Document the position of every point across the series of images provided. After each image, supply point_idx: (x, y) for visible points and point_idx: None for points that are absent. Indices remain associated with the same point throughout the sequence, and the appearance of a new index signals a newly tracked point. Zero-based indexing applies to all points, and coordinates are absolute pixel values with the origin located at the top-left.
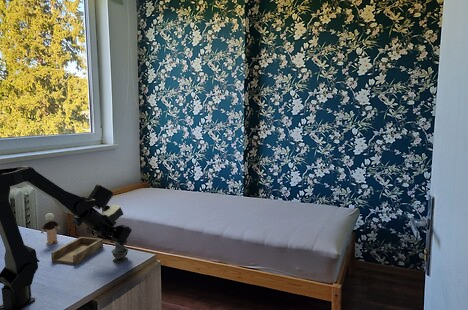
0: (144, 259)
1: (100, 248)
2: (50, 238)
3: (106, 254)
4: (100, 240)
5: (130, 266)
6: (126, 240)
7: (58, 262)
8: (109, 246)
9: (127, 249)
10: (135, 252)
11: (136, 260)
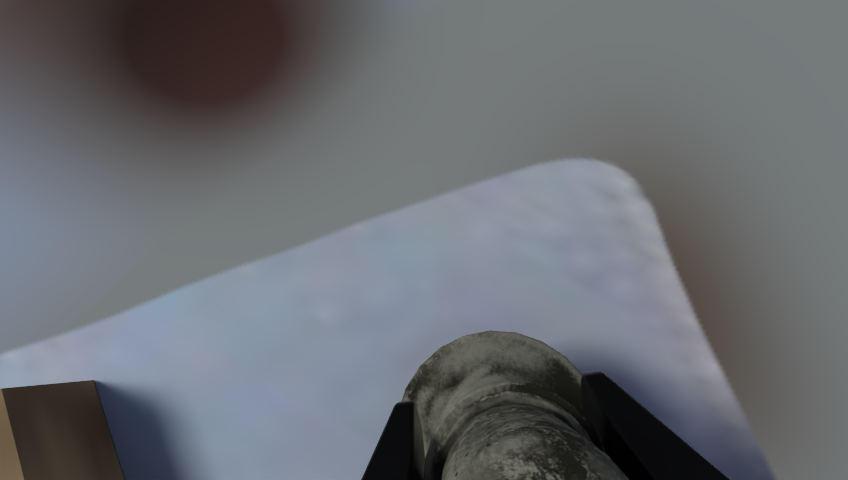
0: (642, 244)
1: (100, 422)
2: None
3: (263, 446)
4: (13, 430)
5: (706, 429)
6: (628, 400)
7: None
8: (123, 321)
9: (541, 354)
10: (435, 221)
11: (611, 310)
